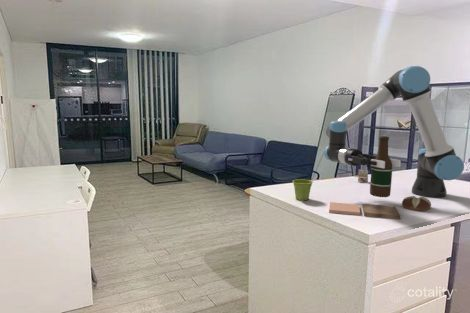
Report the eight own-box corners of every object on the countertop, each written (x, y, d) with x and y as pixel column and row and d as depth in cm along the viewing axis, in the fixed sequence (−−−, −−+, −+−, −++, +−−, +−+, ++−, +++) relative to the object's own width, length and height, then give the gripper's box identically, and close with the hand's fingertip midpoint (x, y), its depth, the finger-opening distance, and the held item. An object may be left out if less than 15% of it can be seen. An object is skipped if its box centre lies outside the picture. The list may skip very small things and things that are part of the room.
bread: (433, 207, 143) (433, 196, 142) (426, 213, 134) (427, 201, 134) (405, 202, 150) (406, 192, 149) (397, 208, 142) (398, 196, 141)
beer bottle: (381, 198, 128) (385, 137, 125) (365, 193, 135) (369, 136, 132) (394, 196, 132) (399, 136, 128) (378, 191, 139) (382, 135, 135)
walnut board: (395, 209, 138) (395, 206, 138) (400, 219, 126) (400, 215, 126) (362, 207, 142) (362, 203, 142) (364, 216, 130) (364, 212, 130)
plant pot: (312, 202, 150) (313, 183, 149) (291, 201, 152) (292, 182, 151) (311, 197, 159) (312, 179, 158) (292, 196, 161) (292, 178, 160)
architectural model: (366, 184, 191) (366, 171, 190) (354, 182, 195) (354, 170, 194) (367, 183, 193) (368, 170, 192) (356, 181, 198) (356, 169, 197)
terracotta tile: (358, 207, 142) (358, 204, 142) (360, 215, 131) (360, 212, 131) (330, 204, 146) (330, 202, 146) (329, 212, 135) (329, 209, 135)
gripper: (367, 163, 152) (410, 172, 131) (332, 166, 145) (371, 175, 124) (368, 147, 151) (411, 153, 130) (333, 149, 144) (372, 155, 123)
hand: (392, 164), depth 127 cm, fingers closed on beer bottle, 7 cm apart
